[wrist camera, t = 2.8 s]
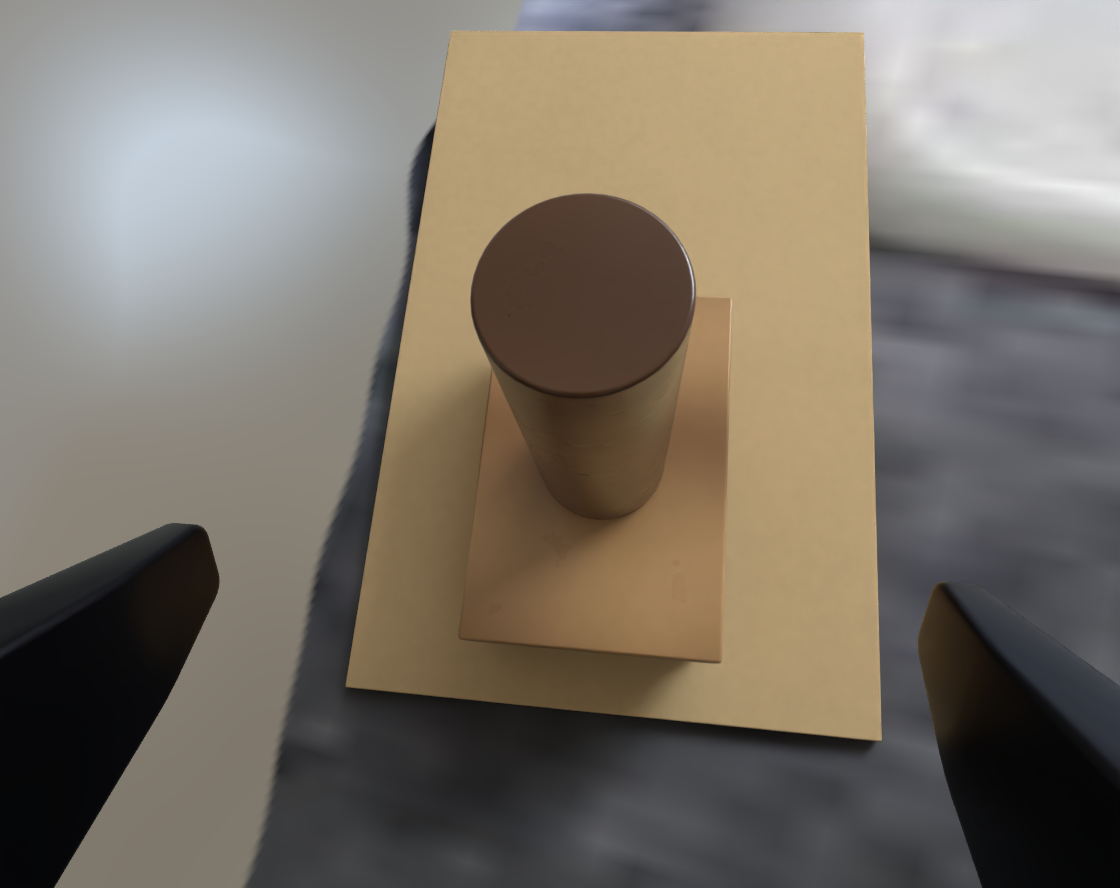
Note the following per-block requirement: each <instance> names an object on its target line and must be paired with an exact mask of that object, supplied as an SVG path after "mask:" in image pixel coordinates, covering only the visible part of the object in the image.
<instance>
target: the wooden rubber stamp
mask: <svg viewBox="0 0 1120 888" xmlns="http://www.w3.org/2000/svg"><path fill="white" fill-rule="evenodd" d="M470 305H471V315H472V320H473V324H474V328H475V331H476V333H477V336H478V338H479V341H480V343H481V345H482V347H483V349H484V352H485V354H486V356H487V358H488V360H489V362H490V365H491V375H490V383H489V391H488V399H487V407H486V415H485V424H484V432H483V440H482V448H481V456H480V464H479V472H478V480H477V488H476V496H475V504H474V513H473V521H472V529H471V537H470V545H469V553H468V561H467V569H466V577H465V585H464V593H463V601H462V610H461V618H460V626H459V634H458V637H459V639H461V640H467V641H474V642H484V643H494V644H505V645H516V646H527V647H537V648H548V649H559V650H570V651H580V652H591V653H602V654H612V655H623V656H634V657H645V658H655V659H666V660H677V661H688V662H698V663H710V664H719V663H721V661H722V642H723V609H724V576H725V542H726V509H727V476H728V443H729V409H730V376H731V343H732V310H733V299H732V298H731V297H716V296H696V281H695V276H694V270H693V267H692V264H691V261H690V258H689V256H688V254H687V252H686V250H685V248H684V246H683V244H682V243H681V241H680V240H679V239H678V237H677V236H676V234H675V233H674V232H673V231H672V230H671V229H670V228H669V227H668V225H667V224H666V223H665V222H663V221H662V220H661V219H660V218H659V217H657V216H656V215H655V214H653V213H652V212H650V211H649V210H647V209H645V208H644V207H642V206H640V205H638V204H635V203H633V202H631V201H628V200H625V199H622V198H619V197H615V196H610V195H605V194H594V193H580V194H570V195H563V196H559V197H555V198H551V199H548V200H545V201H543V202H540V203H538V204H535V205H533V206H531V207H530V208H528V209H526V210H524V211H522V212H521V213H519V214H518V215H516V216H515V217H514V218H512V219H511V220H510V221H509V222H507V223H506V224H505V225H504V226H503V227H502V228H501V229H500V230H499V231H498V232H497V233H496V234H495V236H494V237H493V238H492V239H491V241H490V242H489V244H488V245H487V247H486V248H485V250H484V252H483V254H482V256H481V258H480V259H479V261H478V264H477V267H476V270H475V273H474V276H473V281H472V285H471V296H470Z"/></svg>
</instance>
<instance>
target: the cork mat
mask: <svg viewBox="0 0 1120 888" xmlns="http://www.w3.org/2000/svg"><path fill="white" fill-rule="evenodd" d="M580 193H594V194H605V195H610V196H615V197H619V198H622V199H625V200H628V201H631V202H633V203H635V204H638V205H640V206H642V207H644V208H645V209H647V210H649V211H650V212H652V213H653V214H655V215H656V216H657V217H659V218H660V219H661V220H662V221H663V222H665V223H666V224H667V225H668V227H669V228H670V229H671V230H672V231H673V232H674V233H675V234H676V236H677V237H678V239H679V240H680V241H681V243H682V244H683V246H684V248H685V250H686V252H687V254H688V256H689V258H690V261H691V264H692V267H693V270H694V276H695V281H696V296H716V297H731V298H732V299H733V310H732V343H731V376H730V409H729V443H728V476H727V509H726V542H725V576H724V609H723V642H722V661H721V663H719V664H710V663H698V662H688V661H677V660H666V659H655V658H645V657H634V656H623V655H612V654H602V653H591V652H580V651H570V650H559V649H548V648H537V647H527V646H516V645H505V644H494V643H484V642H474V641H467V640H461V639H459V637H458V634H459V626H460V618H461V610H462V601H463V593H464V585H465V577H466V569H467V561H468V553H469V545H470V537H471V529H472V521H473V513H474V504H475V496H476V488H477V480H478V472H479V464H480V456H481V448H482V440H483V432H484V424H485V415H486V407H487V399H488V391H489V383H490V375H491V365H490V362H489V360H488V358H487V356H486V354H485V352H484V349H483V347H482V345H481V343H480V341H479V338H478V336H477V333H476V331H475V328H474V324H473V320H472V315H471V305H470V296H471V285H472V281H473V276H474V273H475V270H476V267H477V264H478V261H479V259H480V258H481V256H482V254H483V252H484V250H485V248H486V247H487V245H488V244H489V242H490V241H491V239H492V238H493V237H494V236H495V234H496V233H497V232H498V231H499V230H500V229H501V228H502V227H503V226H504V225H505V224H506V223H507V222H509V221H510V220H511V219H512V218H514V217H515V216H516V215H518V214H519V213H521V212H522V211H524V210H526V209H528V208H530V207H531V206H533V205H535V204H538V203H540V202H543V201H545V200H548V199H551V198H555V197H559V196H563V195H570V194H580ZM346 687H349V688H359V689H369V690H379V691H388V692H398V693H408V694H418V695H428V696H437V697H447V698H457V699H467V700H477V701H487V702H496V703H506V704H516V705H526V706H536V707H546V708H555V709H565V710H575V711H585V712H595V713H604V714H614V715H624V716H634V717H644V718H654V719H663V720H673V721H683V722H693V723H703V724H713V725H722V726H732V727H742V728H752V729H762V730H771V731H781V732H791V733H801V734H811V735H821V736H830V737H840V738H850V739H860V740H870V741H881V740H882V736H881V696H880V657H879V617H878V577H877V538H876V498H875V458H874V419H873V379H872V339H871V300H870V260H869V220H868V181H867V141H866V101H865V62H864V33H855V32H596V31H451V33H450V39H449V45H448V52H447V58H446V64H445V70H444V77H443V83H442V89H441V95H440V101H439V108H438V114H437V120H436V126H435V132H434V139H433V145H432V151H431V157H430V164H429V170H428V176H427V182H426V188H425V195H424V201H423V207H422V213H421V220H420V226H419V232H418V238H417V244H416V251H415V257H414V263H413V269H412V276H411V282H410V288H409V294H408V300H407V307H406V313H405V319H404V325H403V332H402V338H401V344H400V350H399V356H398V363H397V369H396V375H395V381H394V388H393V394H392V400H391V406H390V412H389V419H388V425H387V431H386V437H385V444H384V450H383V456H382V462H381V468H380V475H379V481H378V487H377V493H376V500H375V506H374V512H373V518H372V524H371V531H370V537H369V543H368V549H367V556H366V562H365V568H364V574H363V580H362V587H361V593H360V599H359V605H358V612H357V618H356V624H355V630H354V636H353V643H352V649H351V655H350V661H349V668H348V674H347V680H346Z"/></svg>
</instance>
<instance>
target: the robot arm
mask: <svg viewBox="0 0 1120 888" xmlns="http://www.w3.org/2000/svg"><path fill="white" fill-rule="evenodd" d="M218 589H219V573H218V569H217V566H216V562H215V559H214V555H213V551H212V548H211V544H210V541H209V537H208V534H207V532H206V531H205V529H204V528H203V527H201V526H199V525H193V524H180V523H171V524H167V525H164V526H162V527H160V528H157V529H155V530H153V531H151V532H148V533H146V534H144V535H142V536H139V537H137V538H135V539H132V540H130V541H128V542H126V543H123V544H121V545H119V546H117V547H114V548H112V549H110V550H108V551H105V552H103V553H101V554H98V555H96V556H94V557H92V558H89V559H87V560H85V561H83V562H80V563H78V564H76V565H74V566H71V567H69V568H67V569H65V570H62V571H60V572H58V573H56V574H53V575H51V576H49V577H46V578H44V579H42V580H40V581H37V582H35V583H33V584H31V585H28V586H26V587H24V588H22V589H19V590H17V591H15V592H13V593H10V594H8V595H6V596H3V597H2V598H0V888H54V887H55V885H56V884H57V882H58V880H59V879H60V877H61V875H62V873H63V872H64V870H65V869H66V867H67V865H68V864H69V862H70V860H71V859H72V857H73V855H74V854H75V852H76V850H77V849H78V847H79V845H80V844H81V842H82V840H83V839H84V837H85V835H86V834H87V832H88V830H89V829H90V827H91V825H92V824H93V822H94V820H95V819H96V817H97V815H98V814H99V812H100V810H101V809H102V807H103V805H104V804H105V802H106V800H107V799H108V797H109V795H110V794H111V792H112V790H113V789H114V787H115V785H116V784H117V782H118V780H119V779H120V777H121V776H122V774H123V772H124V770H125V768H126V767H127V766H128V764H129V762H130V761H131V759H132V757H133V756H134V754H135V752H136V751H137V749H138V747H139V746H140V744H141V742H142V741H143V739H144V737H145V735H146V734H147V732H148V731H149V729H150V727H151V725H152V724H153V722H154V721H155V719H156V717H157V716H158V714H159V712H160V710H161V709H162V707H163V705H164V703H165V702H166V700H167V698H168V696H169V694H170V692H171V690H172V688H173V686H174V684H175V682H176V680H177V679H178V676H179V674H180V672H181V670H182V668H183V666H184V664H185V661H186V659H187V657H188V655H189V653H190V651H191V649H192V647H193V644H194V642H195V640H196V638H197V636H198V634H199V632H200V630H201V627H202V625H203V623H204V621H205V619H206V617H207V615H208V613H209V610H210V608H211V606H212V604H213V602H214V600H215V598H216V595H217V593H218ZM918 654H919V659H920V664H921V668H922V673H923V678H924V683H925V687H926V692H927V697H928V701H929V706H930V711H931V715H932V720H933V725H934V729H935V734H936V739H937V743H938V748H939V753H940V757H941V761H942V765H943V769H944V774H945V777H946V781H947V784H948V787H949V790H950V793H951V797H952V800H953V803H954V806H955V809H956V812H957V814H958V817H959V820H960V823H961V826H962V829H963V832H964V835H965V838H966V841H967V844H968V847H969V850H970V853H971V856H972V859H973V862H974V865H975V868H976V871H977V874H978V877H979V880H980V882H981V885H982V888H1120V686H1118V685H1117V684H1116V683H1114V682H1113V681H1112V680H1110V679H1109V678H1107V677H1106V676H1105V675H1103V674H1102V673H1100V672H1099V671H1098V670H1096V669H1095V668H1093V667H1092V666H1091V665H1089V664H1088V663H1086V662H1085V661H1084V660H1082V659H1081V658H1079V657H1078V656H1077V655H1075V654H1074V653H1072V652H1071V651H1070V650H1068V649H1067V648H1065V647H1064V646H1063V645H1061V644H1060V643H1059V642H1057V641H1056V640H1054V639H1053V638H1052V637H1050V636H1049V635H1047V634H1046V633H1045V632H1043V631H1042V630H1040V629H1039V628H1038V627H1036V626H1035V625H1033V624H1032V623H1031V622H1029V621H1028V620H1026V619H1025V618H1024V617H1022V616H1021V615H1019V614H1018V613H1017V612H1015V611H1014V610H1013V609H1011V608H1010V607H1008V606H1007V605H1006V604H1004V603H1003V602H1001V601H1000V600H999V599H997V598H996V597H994V596H993V595H992V594H990V593H989V592H987V591H986V590H985V589H983V588H982V587H980V586H979V585H977V584H974V583H965V582H952V581H941V582H939V583H937V584H936V585H935V587H934V588H933V590H932V593H931V596H930V599H929V602H928V606H927V609H926V612H925V615H924V618H923V622H922V625H921V628H920V631H919V636H918Z"/></svg>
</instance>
